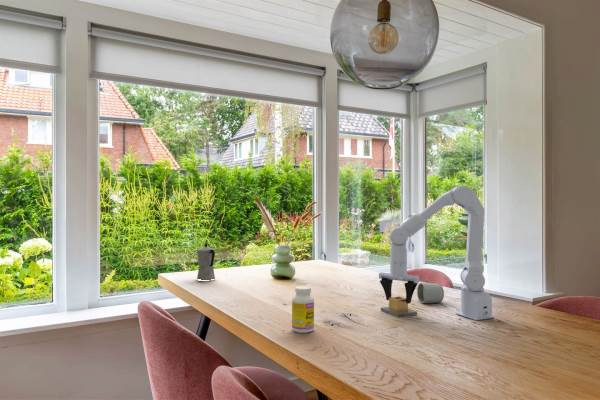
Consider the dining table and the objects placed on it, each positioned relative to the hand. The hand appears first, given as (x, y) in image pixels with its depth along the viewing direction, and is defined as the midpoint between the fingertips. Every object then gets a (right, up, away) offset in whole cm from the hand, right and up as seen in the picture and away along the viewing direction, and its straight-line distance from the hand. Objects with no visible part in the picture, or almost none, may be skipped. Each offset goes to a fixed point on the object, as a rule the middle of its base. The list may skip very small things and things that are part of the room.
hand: (398, 301), depth 156 cm
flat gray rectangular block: (0, -4, 0) cm, 4 cm away
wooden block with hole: (0, -3, 0) cm, 3 cm away
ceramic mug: (+15, -4, +16) cm, 23 cm away
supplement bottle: (-33, -4, -21) cm, 40 cm away
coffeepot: (-80, -4, +63) cm, 102 cm away
